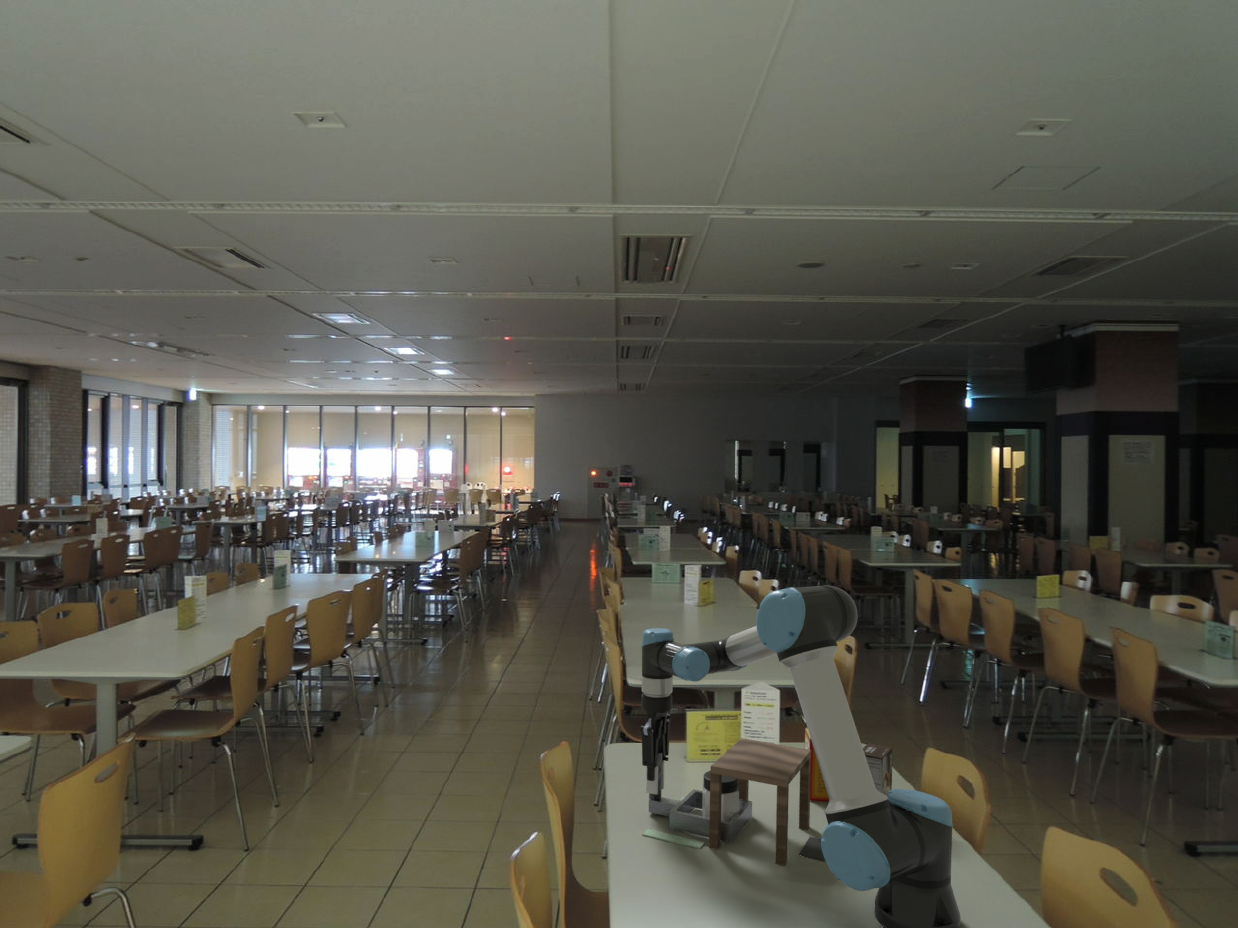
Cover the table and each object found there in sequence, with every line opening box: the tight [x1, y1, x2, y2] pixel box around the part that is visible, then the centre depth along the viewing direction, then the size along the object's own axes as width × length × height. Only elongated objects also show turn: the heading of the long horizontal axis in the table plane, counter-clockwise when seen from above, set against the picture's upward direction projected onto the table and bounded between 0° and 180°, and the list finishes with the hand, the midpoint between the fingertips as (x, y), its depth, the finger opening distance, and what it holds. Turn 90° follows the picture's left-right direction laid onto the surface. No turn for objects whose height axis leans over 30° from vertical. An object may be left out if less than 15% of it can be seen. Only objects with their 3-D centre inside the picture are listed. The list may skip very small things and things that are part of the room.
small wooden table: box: [708, 737, 811, 866], centre depth 188 cm, size 22×17×18 cm
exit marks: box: [641, 795, 706, 850], centre depth 196 cm, size 25×14×1 cm, turn 154°
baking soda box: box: [804, 727, 830, 803], centre depth 214 cm, size 10×6×16 cm
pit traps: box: [798, 836, 826, 863], centre depth 181 cm, size 10×14×1 cm
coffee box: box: [862, 743, 894, 796], centre depth 201 cm, size 9×6×16 cm
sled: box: [648, 751, 753, 844], centre depth 196 cm, size 15×24×14 cm, turn 64°
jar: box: [701, 770, 739, 822], centre depth 193 cm, size 9×8×12 cm
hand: (655, 790), depth 200 cm, fingers closed on sled, 3 cm apart
